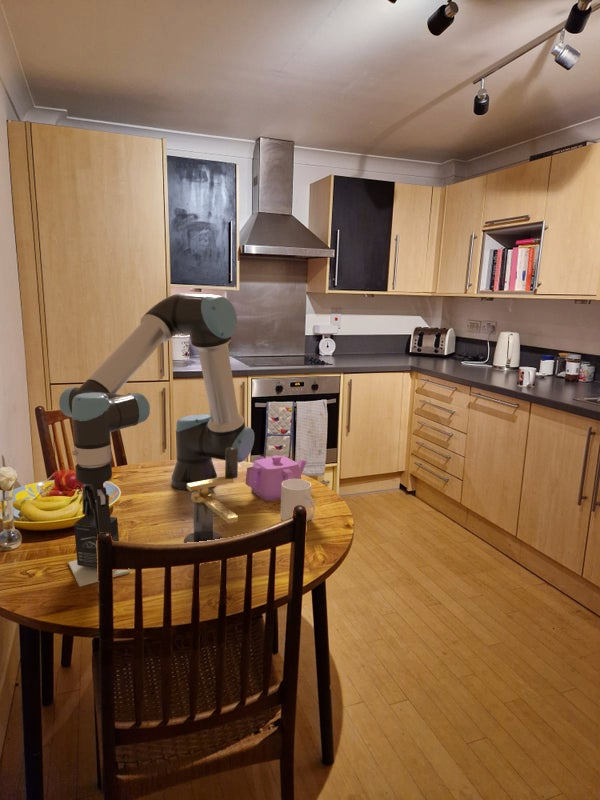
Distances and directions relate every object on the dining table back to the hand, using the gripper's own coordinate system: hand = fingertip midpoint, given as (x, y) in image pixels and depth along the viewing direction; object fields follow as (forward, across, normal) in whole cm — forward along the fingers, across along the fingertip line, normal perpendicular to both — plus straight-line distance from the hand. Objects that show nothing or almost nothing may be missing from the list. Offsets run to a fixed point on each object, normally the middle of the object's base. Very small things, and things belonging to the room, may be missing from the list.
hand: (98, 554), depth 120 cm
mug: (+4, +3, +55) cm, 55 cm away
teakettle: (+4, -19, +61) cm, 64 cm away
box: (+2, 0, 0) cm, 2 cm away
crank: (-9, +7, +29) cm, 31 cm away
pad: (+4, 0, 0) cm, 4 cm away
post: (+4, +1, +26) cm, 26 cm away
